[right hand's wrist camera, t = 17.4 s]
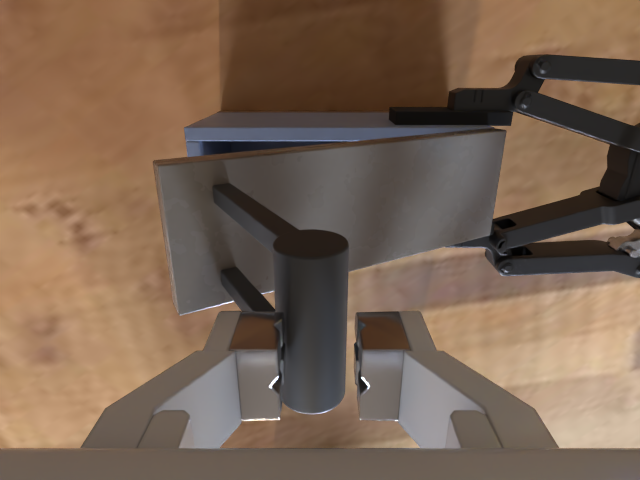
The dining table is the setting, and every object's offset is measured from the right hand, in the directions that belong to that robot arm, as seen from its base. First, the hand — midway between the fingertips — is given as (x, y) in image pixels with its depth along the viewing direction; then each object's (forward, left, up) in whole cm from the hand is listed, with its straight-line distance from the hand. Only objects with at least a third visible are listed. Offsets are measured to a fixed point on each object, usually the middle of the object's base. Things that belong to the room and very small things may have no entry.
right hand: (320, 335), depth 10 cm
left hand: (+1, -4, -18) cm, 18 cm away
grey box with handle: (0, -1, -11) cm, 11 cm away
